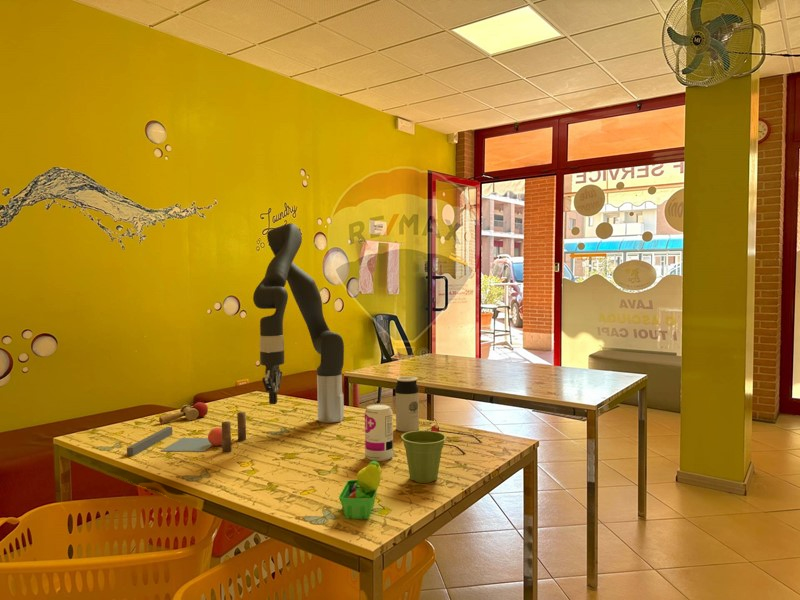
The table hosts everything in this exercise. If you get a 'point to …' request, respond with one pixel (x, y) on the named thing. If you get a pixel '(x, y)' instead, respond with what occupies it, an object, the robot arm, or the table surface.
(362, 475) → the fruit basket
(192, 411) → the kendama
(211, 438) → the ball
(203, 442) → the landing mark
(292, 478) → the table surface
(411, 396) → the travel mug
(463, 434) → the glasses
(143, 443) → the wall
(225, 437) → the gate post
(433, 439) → the plant pot
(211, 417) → the table surface
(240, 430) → the gate post
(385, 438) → the supplement can
